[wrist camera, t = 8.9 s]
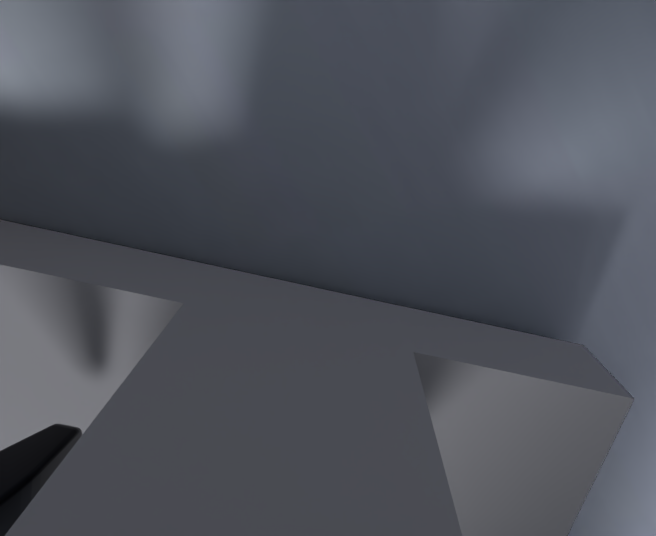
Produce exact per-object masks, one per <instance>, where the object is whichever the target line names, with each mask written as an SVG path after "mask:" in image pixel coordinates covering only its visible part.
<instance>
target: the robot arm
mask: <svg viewBox="0 0 656 536" xmlns="http://www.w3.org/2000/svg"><path fill="white" fill-rule="evenodd" d="M81 436H82V430H81V429H80V428H78V427H74V426H69V425H64V424H53V425H51V426H49V427H47V428H45V429H43V430H41V431H39V432H37V433H35V434H33V435H31V436H29V437H27V438H25V439H23V440H21V441H19V442H17V443H15V444H13V445H11V446H9V447H7V448H5V449H3V450H1V451H0V536H5V535H6V533H7V532H8V531H9V529H10V528H11V527H12V525H13V524H14V523H15V522H16V520H17V519H18V518H19V516H20V515H21V514H22V512H23V511H24V510H25V509H26V507H27V506H28V505H29V503H30V502H31V501H32V500H33V498H34V497H35V496H36V494H37V493H38V492H39V490H40V489H41V488H42V487H43V485H44V484H45V483H46V481H47V480H48V479H49V477H50V476H51V475H52V474H53V472H54V471H55V470H56V468H57V467H58V466H59V464H60V463H61V462H62V461H63V459H64V458H65V457H66V455H67V454H68V453H69V451H70V450H71V449H72V448H73V446H74V445H75V444H76V442H77V441H78V440H79V438H80V437H81Z"/></svg>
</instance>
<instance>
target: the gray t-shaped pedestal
mask: <svg viewBox="0 0 656 536" xmlns="http://www.w3.org/2000/svg"><path fill="white" fill-rule="evenodd" d="M633 401H634V398H633V397H632V396H631V395H630V394H629V392H628V391H627V390H626V389H625V388H624V387H623V386H622V385H621V384H620V383H619V382H618V381H617V380H616V379H615V378H614V377H613V376H612V375H611V374H610V373H609V371H608V370H607V369H606V368H605V367H604V366H603V365H602V364H601V363H600V362H599V361H598V360H597V359H596V358H595V357H594V356H593V355H592V354H591V353H590V352H589V350H588V349H587V348H586V347H585V346H584V345H580V344H575V343H571V342H566V341H561V340H557V339H552V338H548V337H543V336H538V335H534V334H529V333H524V332H520V331H515V330H510V329H506V328H501V327H496V326H492V325H487V324H483V323H478V322H473V321H469V320H464V319H459V318H455V317H450V316H445V315H441V314H436V313H431V312H427V311H422V310H418V309H413V308H408V307H404V306H399V305H394V304H390V303H385V302H380V301H376V300H371V299H366V298H362V297H357V296H353V295H348V294H343V293H339V292H334V291H329V290H325V289H320V288H315V287H311V286H306V285H301V284H297V283H292V282H288V281H283V280H278V279H274V278H269V277H264V276H260V275H255V274H250V273H246V272H241V271H236V270H232V269H227V268H223V267H218V266H213V265H209V264H204V263H199V262H195V261H190V260H185V259H181V258H176V257H171V256H167V255H162V254H158V253H153V252H148V251H144V250H139V249H134V248H130V247H125V246H120V245H116V244H111V243H106V242H102V241H97V240H93V239H88V238H83V237H79V236H74V235H69V234H65V233H60V232H55V231H51V230H46V229H41V228H37V227H32V226H28V225H23V224H18V223H14V222H9V221H4V220H0V451H1V450H3V449H5V448H7V447H9V446H11V445H13V444H15V443H17V442H19V441H21V440H23V439H25V438H27V437H29V436H31V435H33V434H35V433H37V432H39V431H41V430H43V429H45V428H47V427H49V426H51V425H53V424H64V425H69V426H74V427H78V428H80V429H81V430H82V436H81V437H80V438H79V440H78V441H77V442H76V444H75V445H74V446H73V448H72V449H71V450H70V451H69V453H68V454H67V455H66V457H65V458H64V459H63V461H62V462H61V463H60V464H59V466H58V467H57V468H56V470H55V471H54V472H53V474H52V475H51V476H50V477H49V479H48V480H47V481H46V483H45V484H44V485H43V487H42V488H41V489H40V490H39V492H38V493H37V494H36V496H35V497H34V498H33V500H32V501H31V502H30V503H29V505H28V506H27V507H26V509H25V510H24V511H23V512H22V514H21V515H20V516H19V518H18V519H17V520H16V522H15V523H14V524H13V525H12V527H11V528H10V529H9V531H8V532H7V533H6V535H5V536H568V534H569V532H570V530H571V527H572V525H573V523H574V521H575V519H576V517H577V515H578V513H579V511H580V509H581V507H582V505H583V503H584V501H585V499H586V497H587V495H588V493H589V491H590V489H591V487H592V485H593V482H594V480H595V478H596V476H597V474H598V472H599V470H600V468H601V466H602V464H603V462H604V460H605V458H606V456H607V454H608V452H609V450H610V448H611V446H612V444H613V442H614V440H615V438H616V435H617V433H618V431H619V429H620V427H621V425H622V423H623V421H624V419H625V417H626V415H627V413H628V411H629V409H630V407H631V405H632V403H633Z"/></svg>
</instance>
